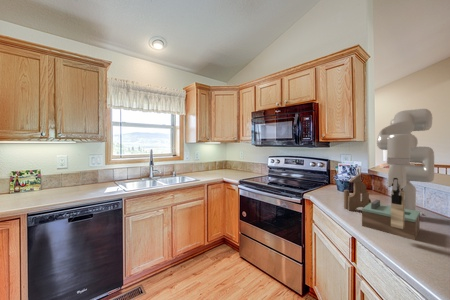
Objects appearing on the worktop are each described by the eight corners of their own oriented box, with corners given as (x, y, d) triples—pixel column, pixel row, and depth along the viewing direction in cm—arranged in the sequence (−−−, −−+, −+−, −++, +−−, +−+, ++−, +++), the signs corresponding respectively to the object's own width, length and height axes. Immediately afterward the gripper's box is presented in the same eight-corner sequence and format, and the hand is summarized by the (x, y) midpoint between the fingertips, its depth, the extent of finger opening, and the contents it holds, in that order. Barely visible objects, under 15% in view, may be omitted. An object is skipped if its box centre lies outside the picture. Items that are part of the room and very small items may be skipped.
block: (392, 223, 89) (393, 189, 88) (404, 226, 86) (404, 190, 85) (390, 226, 86) (391, 190, 86) (402, 229, 83) (403, 192, 83)
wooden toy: (369, 209, 130) (369, 172, 129) (373, 213, 123) (374, 174, 123) (343, 207, 134) (343, 172, 134) (346, 210, 128) (346, 173, 127)
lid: (371, 204, 112) (371, 197, 111) (419, 213, 96) (420, 205, 96) (362, 210, 101) (362, 202, 101) (415, 222, 86) (415, 213, 86)
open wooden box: (370, 220, 112) (370, 205, 112) (419, 232, 96) (419, 214, 96) (361, 228, 102) (362, 211, 101) (414, 242, 86) (415, 223, 86)
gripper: (391, 160, 93) (390, 197, 94) (382, 162, 83) (382, 204, 83) (412, 161, 88) (412, 201, 88) (406, 163, 77) (405, 209, 77)
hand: (397, 202), depth 86 cm, fingers closed on block, 4 cm apart
